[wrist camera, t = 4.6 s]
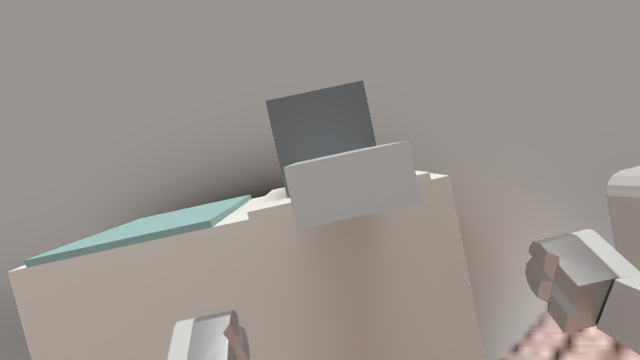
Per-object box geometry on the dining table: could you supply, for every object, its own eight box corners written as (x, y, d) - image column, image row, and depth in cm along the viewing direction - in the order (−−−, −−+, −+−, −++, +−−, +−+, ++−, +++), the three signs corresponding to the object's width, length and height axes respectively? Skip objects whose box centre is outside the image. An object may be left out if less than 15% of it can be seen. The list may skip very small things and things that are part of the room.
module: (452, 196, 12) (415, 4, 12) (265, 236, 12) (222, 45, 12) (360, 171, 34) (346, 103, 33) (293, 186, 33) (278, 118, 33)
